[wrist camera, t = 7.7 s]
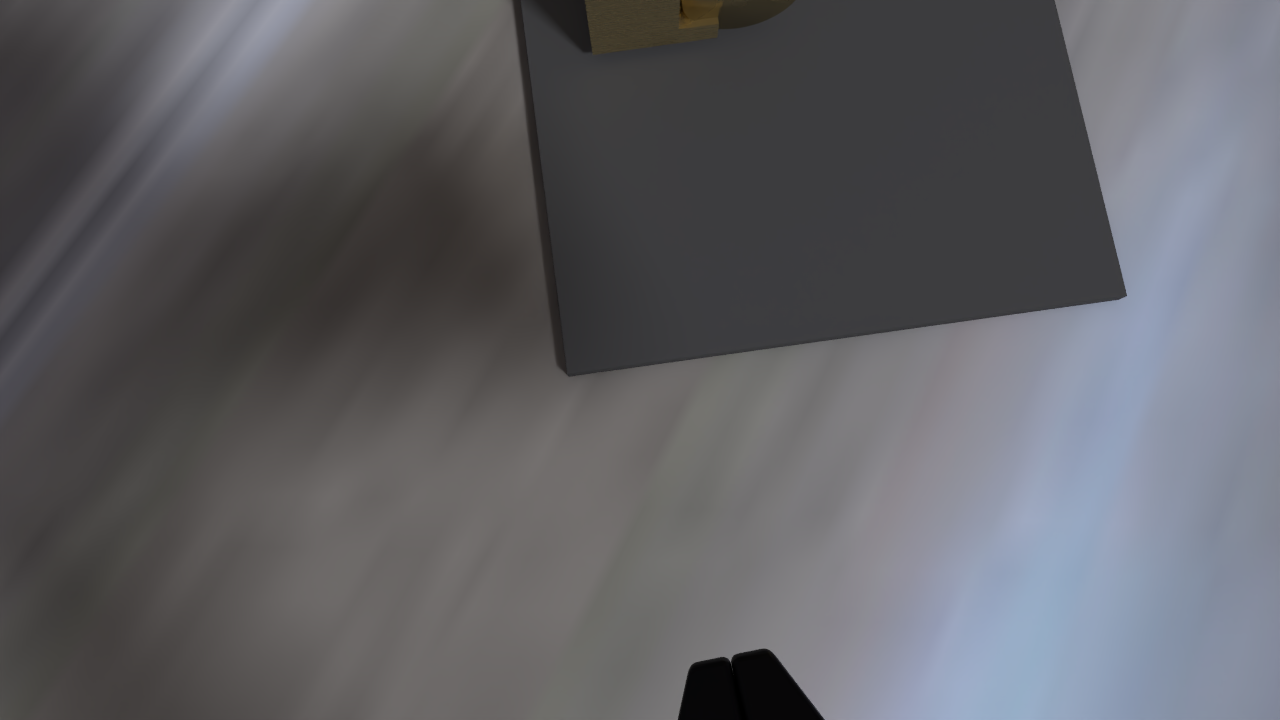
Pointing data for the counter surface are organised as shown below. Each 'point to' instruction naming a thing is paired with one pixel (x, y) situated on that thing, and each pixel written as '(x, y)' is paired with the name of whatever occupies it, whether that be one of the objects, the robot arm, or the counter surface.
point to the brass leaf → (670, 20)
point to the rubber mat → (813, 177)
